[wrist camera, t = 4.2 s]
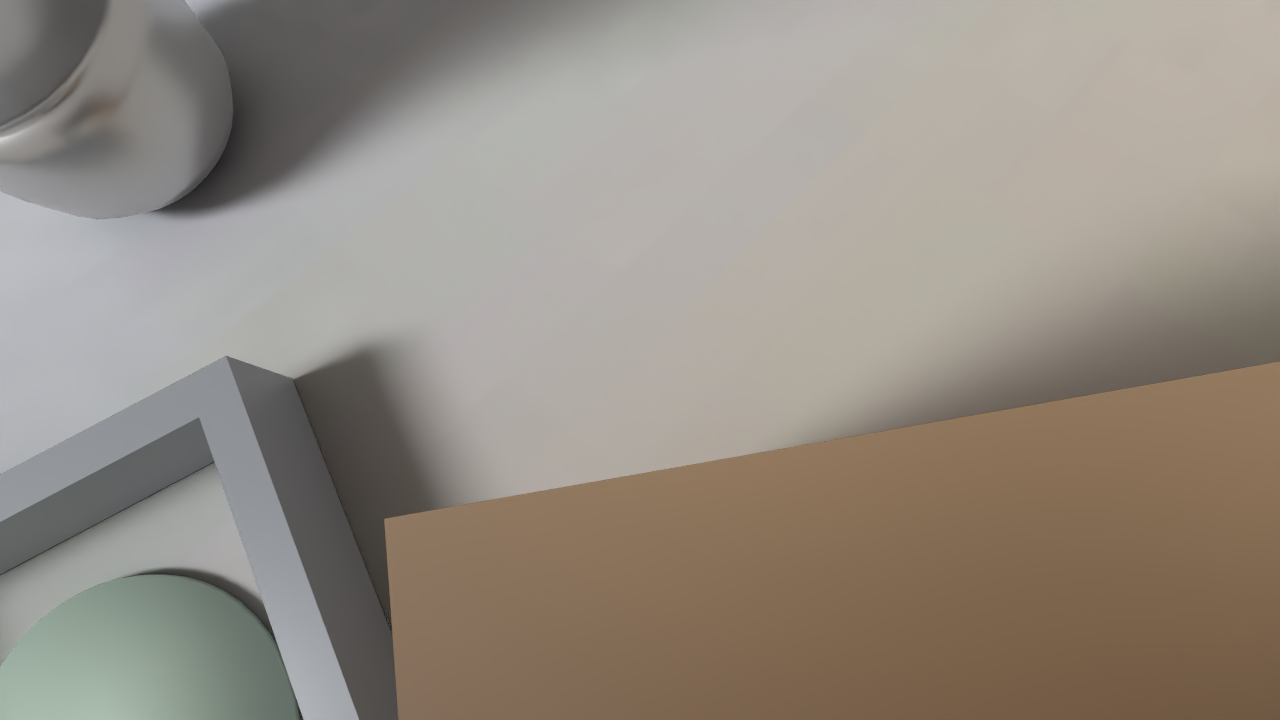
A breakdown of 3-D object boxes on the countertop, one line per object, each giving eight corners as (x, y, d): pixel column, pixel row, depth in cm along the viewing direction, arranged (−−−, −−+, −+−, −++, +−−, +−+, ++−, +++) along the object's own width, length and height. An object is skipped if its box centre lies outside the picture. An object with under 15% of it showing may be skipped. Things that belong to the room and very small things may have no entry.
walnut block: (926, 727, 15) (2241, 2048, 2) (688, 762, 15) (493, 2058, 2) (868, 485, 16) (1443, 333, 3) (649, 523, 16) (385, 519, 4)
